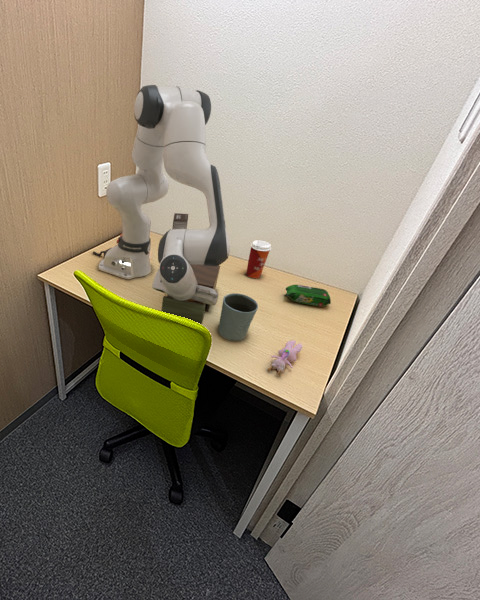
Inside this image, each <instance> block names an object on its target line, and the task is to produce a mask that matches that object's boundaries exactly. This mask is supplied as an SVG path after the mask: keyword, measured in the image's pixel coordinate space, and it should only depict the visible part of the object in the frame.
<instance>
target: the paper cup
mask: <svg viewBox="0 0 480 600" xmlns="http://www.w3.org/2000/svg"><path fill="white" fill-rule="evenodd" d="M271 250H272V244H271V243H270V242H268V241H265V240H260V239H259V240H258V239H257V240H256V239H255V240H253V241H252V243H250V250H249V256H248V261H247V265H246V266H247V267H246V273H245V274H246V276H247V277H248V278H252V279H258V278H260V277H261V275H262V273H263V270H264V268H265V265H266V263H267V259H268V257H269V253H270V251H271Z"/></svg>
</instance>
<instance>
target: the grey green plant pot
mask: <svg viewBox="0 0 480 600" xmlns="http://www.w3.org/2000/svg"><path fill="white" fill-rule="evenodd" d="M258 308H259V305H258V303H257V301H256V300H255V299H254V298H253V297H250V296H248V295H246V294H243V293H237V292H236V293H235V292H234V293H233V292H232V293H228V294H225V296H224V297H223V298H222V303H221V311H220V316H219V324H218V327H217V328H218V329H217V332H218V334H219V335H220V336H221V337H222V338H224V339H225V340H228V341H230V342H239V341H242V340H244V339H245V337H246V336H247V334H248V331H249V329H250V326H251V323H252V322H253V320H254V317H255V315H256V313H257V311H258Z"/></svg>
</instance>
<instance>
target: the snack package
mask: <svg viewBox="0 0 480 600" xmlns="http://www.w3.org/2000/svg"><path fill="white" fill-rule="evenodd" d="M285 291H286V293H285V294H284V297H288V298H289V299H290V300H291V301H293V302H294V303H299V304H303V305H309V306H315V307H326V306H329V305H332V304H331V303H332V300H331V296H330V293H329V292H328V291H327V290H326V289H324V288H321V287H313V286H307V285H304V284H303V285H302V284H291V285H288V286H286V287H285Z"/></svg>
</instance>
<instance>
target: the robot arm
mask: <svg viewBox="0 0 480 600" xmlns="http://www.w3.org/2000/svg"><path fill="white" fill-rule="evenodd" d="M133 112H134V119H135V121H136V123H137V124H138V126H137V130H136V133H135V138H134V141H133V146H132V151H131V160H132V163H133V164H134V165H135V166H136V167H137V168H138V171H137V172H136V173H135V174H129V175H125V176H120V177H118V178H116V179H113V180H111V181H110V182H109V183H108V184H107V187H106V189H105V190H106V191H105V196H106V198H107V202H108V203H109V205H110V206H111V207H112V208H114V209H115V210H116V211H117V212H118V214H119V216H120V219H121V226H122V227H121V229H122V231H121V234H120V235H119V236H118V237H117V240H116V242H115V243H116V245H114V246H112V247H110V248H107V249H106V250H101V251H100V252H99V253H98V252H96V251H92V254H93V255H96V256H98V257H100V256H102V254H103V258H102V259H101V261H100V262H99V264H98V270H99V271H100V272H103V273H107V274H110V275H113V276H115V277H119V278H122V279H124V280H131V279H134V278H135V279H136V278H142V277H145V276H147V275H149V274H150V273H151V272H152V266H151V259H150V252H151V239H152V238H151V219H150V217H149V216H148V215H147V214H145V213H143V212H142V205H146V204H151V203H154V202H158V201H159V200H161V199H163V198H164V197H166V196H167V194H168V191H169V188H170V187H169V186H170V185H169V180H168V178H167V176H166V175H165V174H164V171H163V167H164V170H165V172H166V174H167V175H168V176H169V178H170V179H172V180H174V181H176V182H177V183H179V184H182V185H185V186H188V187H191V188H194V189H196V190H198V191H200V192H201V193H202V194H203V195H204V196H205V199H206V206H207V207H206V208H207V214H208V222H209V226H208V227H206V228H191V229H189V228H187V229H169V230H167V231H166V232H165V233H164V234H163V235H162V236H161V238H160V239H159V243H158V248H157V261H158V264H159V265H158V268H157V270H156V273H155V275H154V278H153V281H152V284H151V288H152V290H155V291H157V292H160V293H163V294H165V295H166V296H167V295H169V296H172V297H173V298H174V299H176V300H180V301H184V300H188V299H191V300H195V301H198V302H202V303H206V304H209V305H210V306H216V305H217V303H218V300H219V293H218V292H217V291H216V289H215V290H214V289H212V288H208V287H204V286H200V285H197V280H196V278H195V275H194V272H193V270H192V267H191V266H190V265H205V266H214V267H217V266H221V265H222V264H224V263H225V262H226V261H227V260H229V256H230V252H231V242H230V238H229V234H228V231H227V227H226V220H225V219H226V218H225V211H224V204H223V195H222V188H221V182H220V181H221V180H220V175H219V171H218V169H217V167H216V166H215V165H214V164H211V162H210V161H209V158H208V157H207V150H206V149H207V148H206V147H207V130H206V125H207V124H208V122H209V120H210V117H211V113H212V101H211V97H210V96H209V94H207V93H205V92H203V91H202V90H198V89H196V90H194V89H190V88H187V87H182V86H169V85H168V86H167V85H156V84H147V85H144V86H142V87H141V88H140V89H139V91H138V92H137V94H136V96H135V100H134V105H133Z"/></svg>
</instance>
